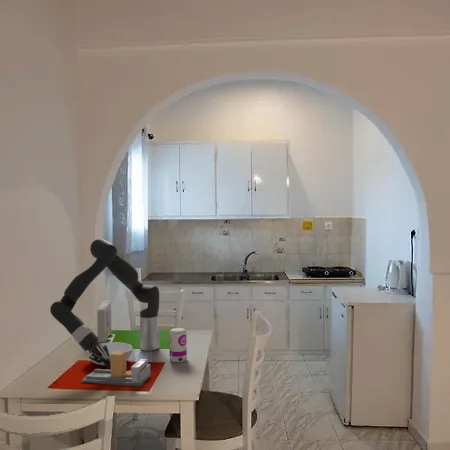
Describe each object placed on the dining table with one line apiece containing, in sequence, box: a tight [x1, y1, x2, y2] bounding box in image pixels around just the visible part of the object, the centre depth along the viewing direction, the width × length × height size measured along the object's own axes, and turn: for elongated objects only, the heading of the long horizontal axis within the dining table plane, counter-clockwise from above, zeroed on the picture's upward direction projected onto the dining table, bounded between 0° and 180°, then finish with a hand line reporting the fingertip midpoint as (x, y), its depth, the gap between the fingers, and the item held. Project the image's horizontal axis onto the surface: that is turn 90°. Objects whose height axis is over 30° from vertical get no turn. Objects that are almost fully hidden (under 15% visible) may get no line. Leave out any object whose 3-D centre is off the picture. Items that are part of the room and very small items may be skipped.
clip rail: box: [81, 358, 151, 387], centre depth 193 cm, size 26×12×8 cm, turn 79°
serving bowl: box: [86, 341, 133, 367], centre depth 215 cm, size 21×21×7 cm
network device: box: [96, 300, 116, 344], centre depth 253 cm, size 26×9×20 cm, turn 6°
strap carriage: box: [110, 351, 131, 378], centre depth 192 cm, size 12×5×10 cm, turn 79°
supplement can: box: [168, 327, 188, 363], centre depth 217 cm, size 8×8×15 cm
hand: (111, 366), depth 193 cm, fingers closed
